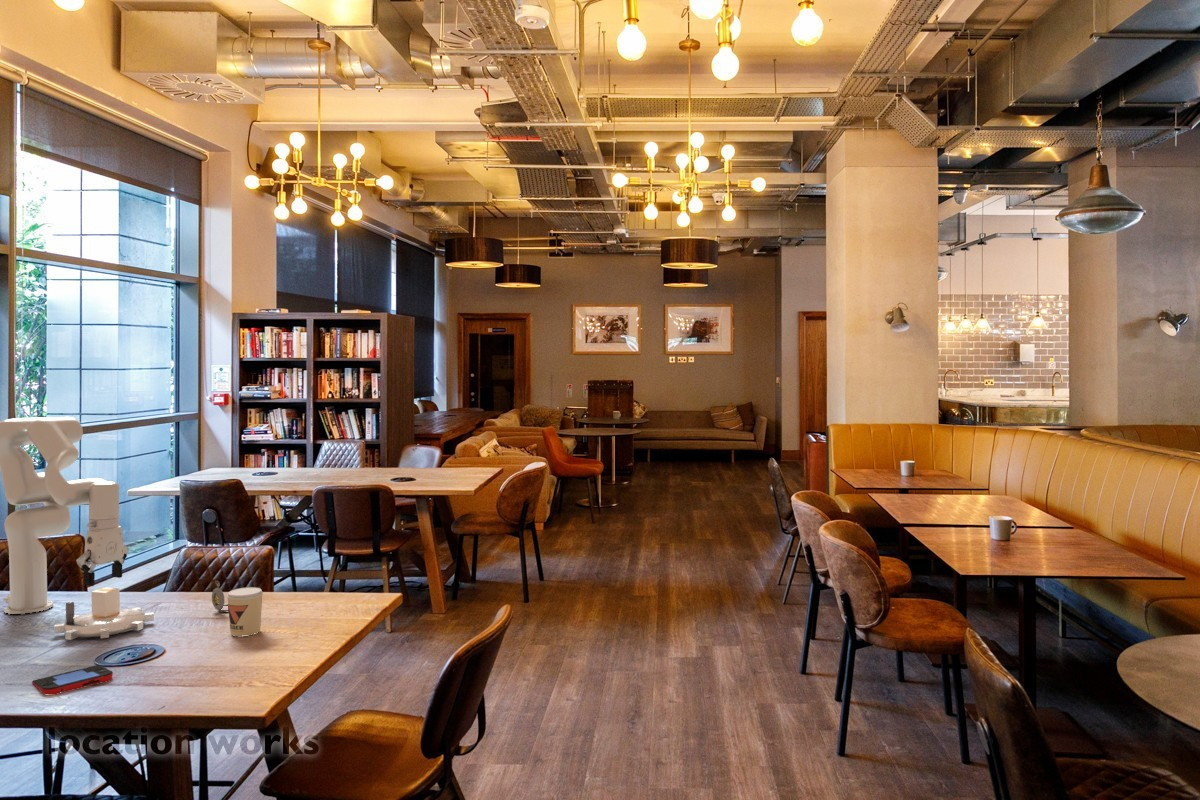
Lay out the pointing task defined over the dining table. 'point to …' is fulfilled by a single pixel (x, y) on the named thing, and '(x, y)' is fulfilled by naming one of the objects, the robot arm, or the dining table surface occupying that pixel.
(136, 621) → the sprocket
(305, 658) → the dining table surface
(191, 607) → the dining table surface
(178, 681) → the dining table surface
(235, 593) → the coffee cup
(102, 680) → the game console
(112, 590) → the link block
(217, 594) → the pocket watch
